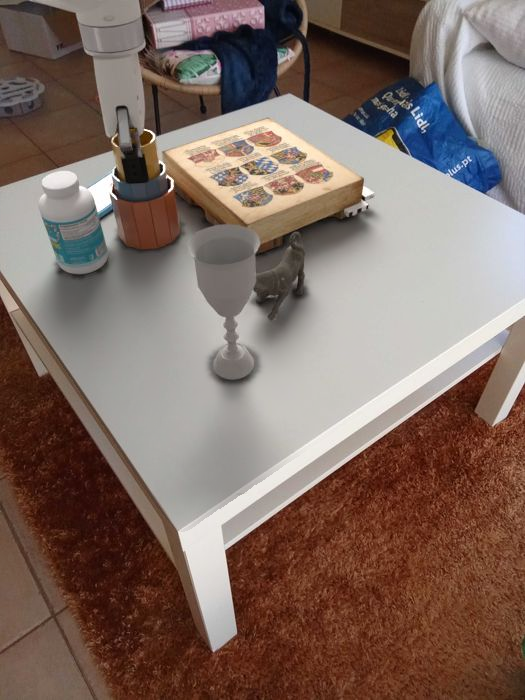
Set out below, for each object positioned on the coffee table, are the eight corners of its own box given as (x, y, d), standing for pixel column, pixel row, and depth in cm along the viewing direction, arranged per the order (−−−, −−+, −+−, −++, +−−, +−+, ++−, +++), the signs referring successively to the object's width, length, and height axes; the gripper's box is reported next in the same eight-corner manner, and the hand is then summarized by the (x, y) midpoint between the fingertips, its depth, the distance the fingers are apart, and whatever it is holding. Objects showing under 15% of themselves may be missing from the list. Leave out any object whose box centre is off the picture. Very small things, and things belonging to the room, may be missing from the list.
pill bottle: (57, 251, 86) (29, 170, 76) (106, 242, 88) (85, 161, 78) (60, 281, 81) (31, 198, 71) (112, 271, 83) (90, 188, 73)
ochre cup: (126, 225, 85) (109, 150, 76) (128, 203, 89) (113, 129, 80) (166, 222, 85) (154, 147, 76) (167, 200, 89) (155, 127, 81)
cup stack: (118, 251, 86) (103, 189, 78) (122, 217, 92) (108, 156, 85) (180, 246, 86) (171, 184, 79) (179, 212, 93) (171, 152, 85)
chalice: (210, 391, 67) (194, 270, 54) (199, 350, 71) (182, 231, 58) (269, 377, 68) (268, 257, 55) (255, 339, 72) (250, 219, 59)
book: (380, 213, 92) (281, 146, 108) (386, 178, 88) (281, 113, 104) (255, 268, 83) (167, 185, 99) (254, 232, 78) (161, 151, 94)
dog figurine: (280, 266, 83) (280, 222, 77) (315, 278, 81) (318, 234, 75) (237, 314, 76) (234, 270, 70) (274, 329, 74) (274, 285, 68)
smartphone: (55, 208, 93) (117, 167, 101) (57, 214, 94) (119, 173, 102) (87, 221, 90) (149, 178, 98) (89, 227, 91) (150, 184, 99)
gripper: (88, 13, 74) (116, 143, 87) (73, 62, 63) (108, 204, 76) (145, 10, 75) (165, 140, 88) (141, 58, 63) (164, 199, 76)
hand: (138, 168), depth 82 cm, fingers closed on ochre cup, 6 cm apart
